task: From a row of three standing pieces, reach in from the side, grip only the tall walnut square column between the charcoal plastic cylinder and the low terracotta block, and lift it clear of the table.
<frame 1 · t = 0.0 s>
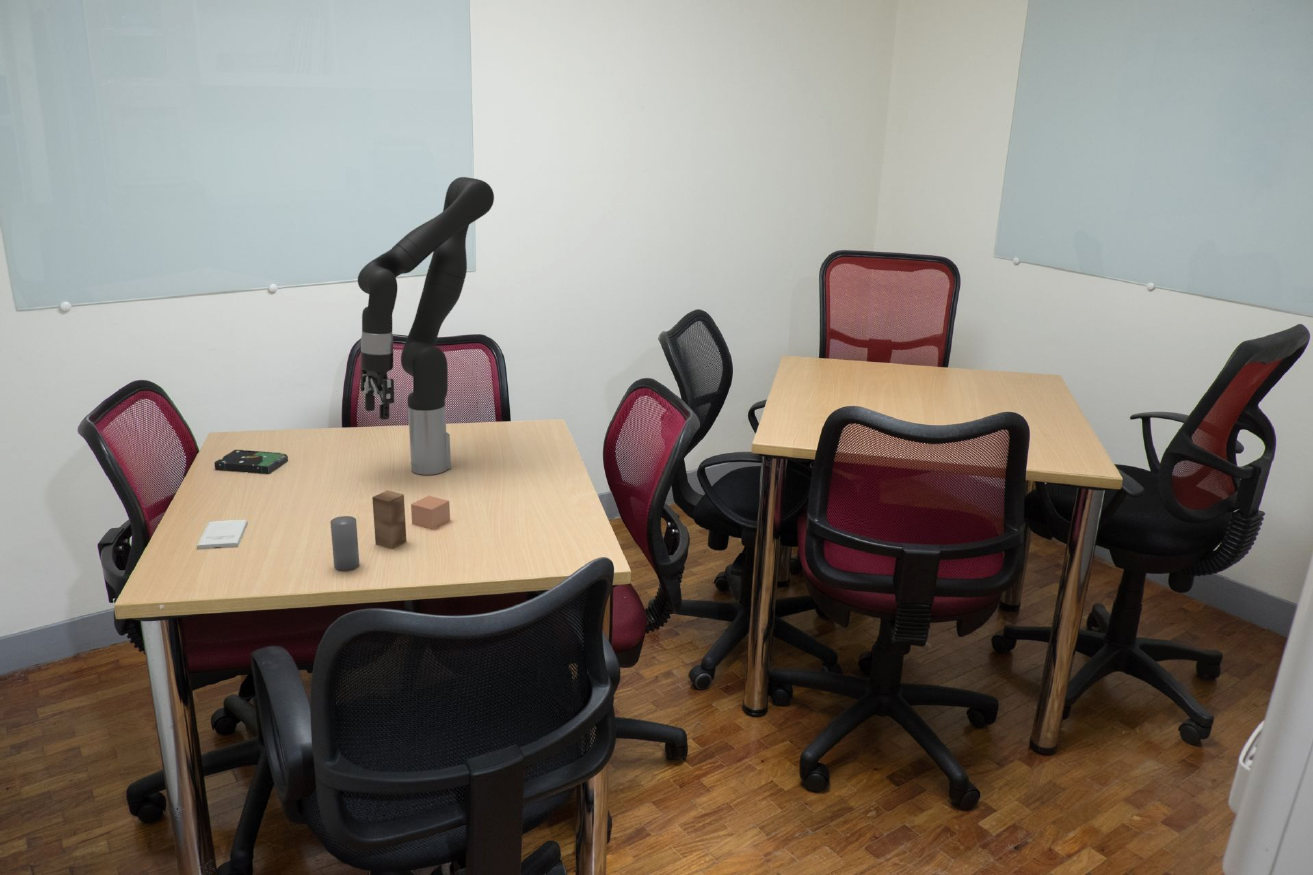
hand: (377, 414, 246), 17 cm above the table, tool pointing down, fingers open, 8 cm apart
terracotta block: (431, 522, 228), on the table
walnut column: (391, 542, 217), on the table
external hard drive: (223, 539, 218), on the table
charcoal cylinder: (346, 565, 206), on the table
disk drive: (252, 468, 259), on the table
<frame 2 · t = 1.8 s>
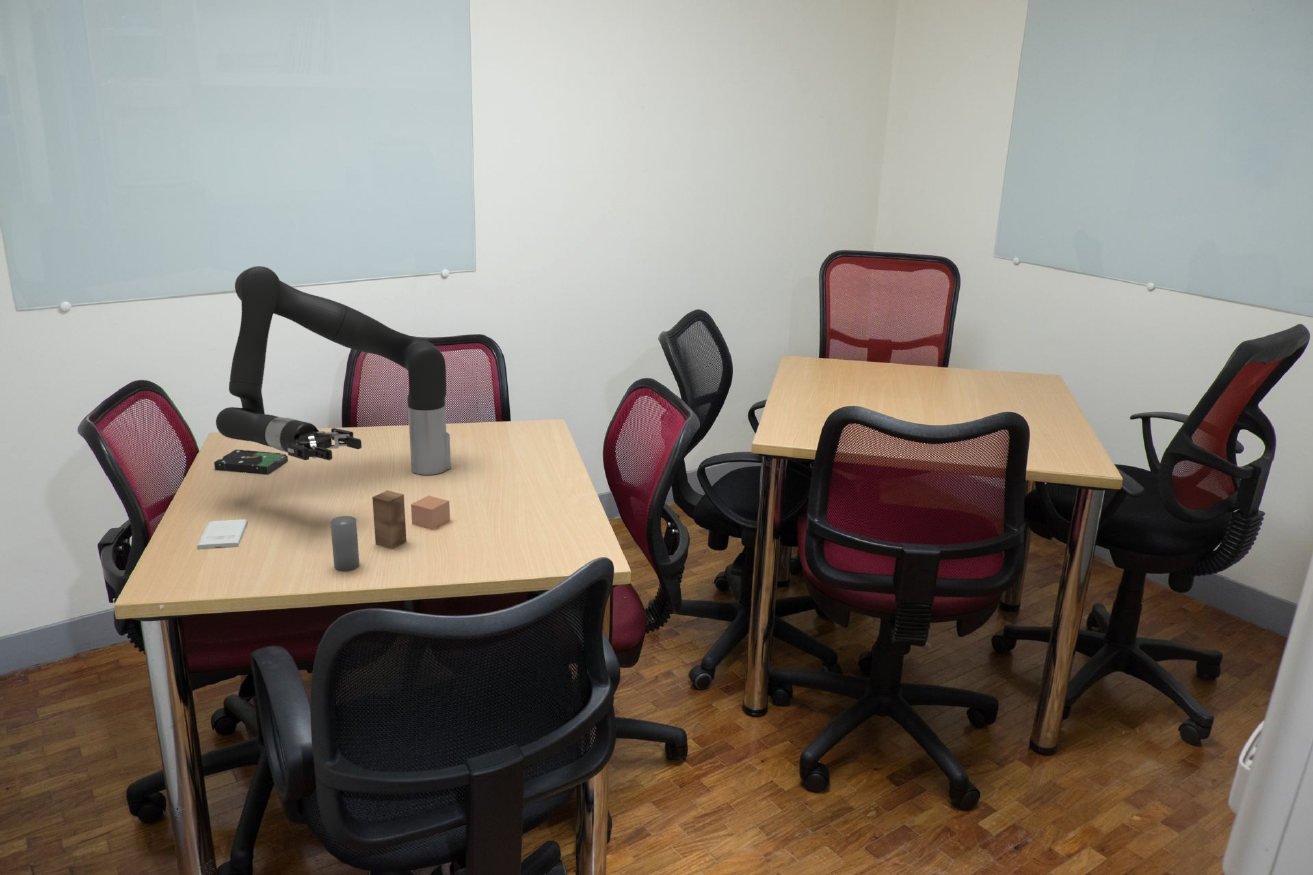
hand: (346, 449, 216), 19 cm above the table, tool horizontal, fingers open, 8 cm apart
nothing on the table moved.
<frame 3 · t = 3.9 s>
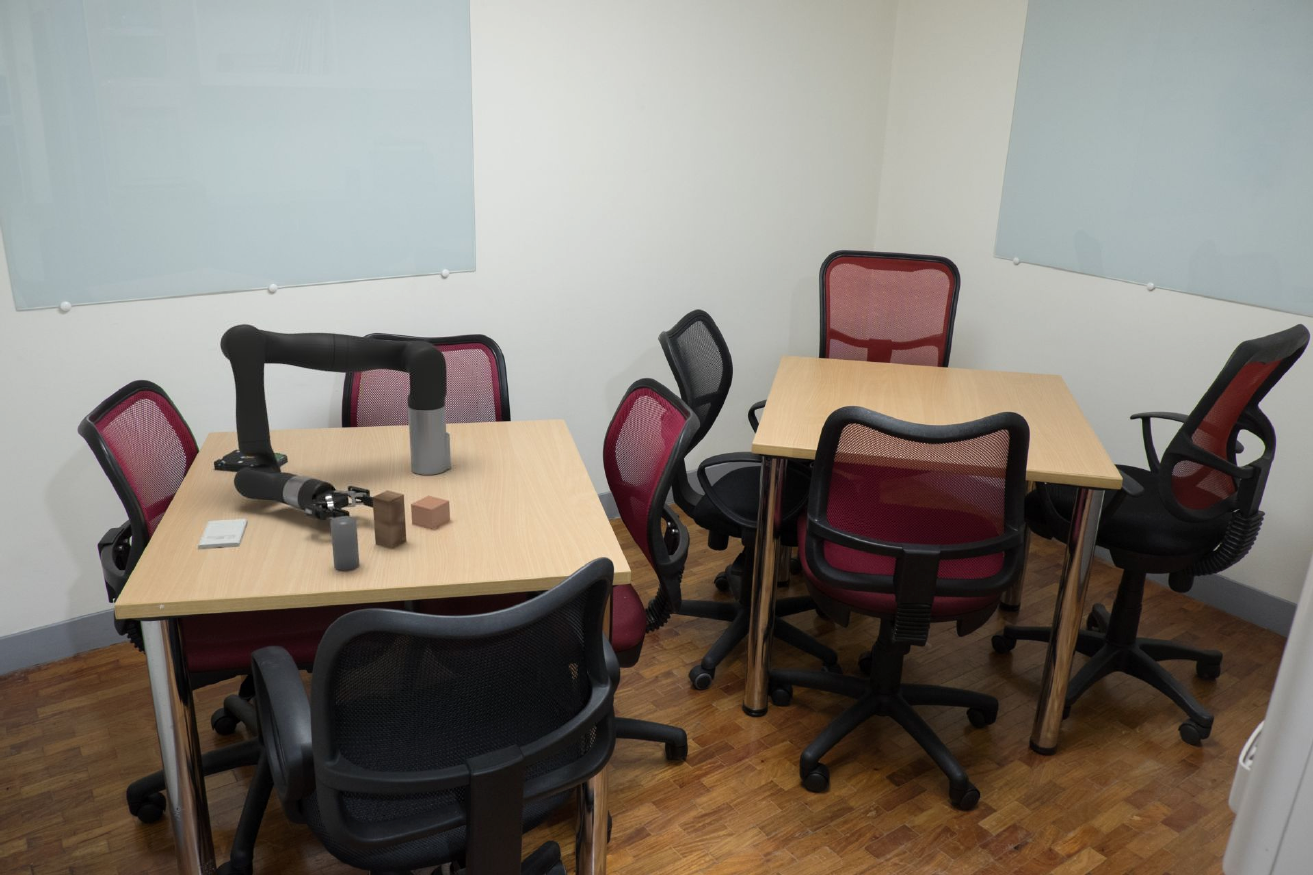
hand: (363, 509, 219), 6 cm above the table, tool horizontal, fingers open, 8 cm apart
nothing on the table moved.
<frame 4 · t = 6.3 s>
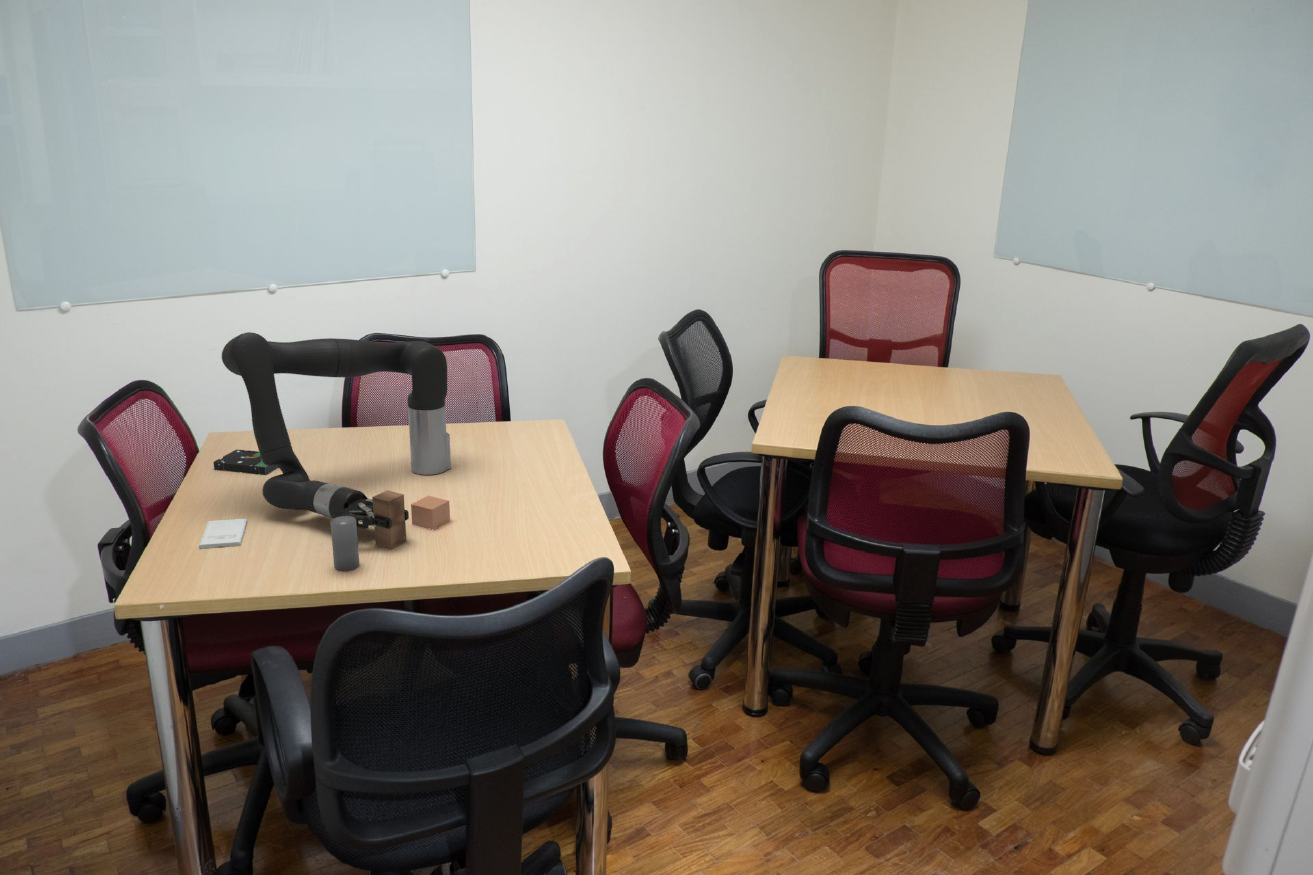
hand: (399, 519, 214), 6 cm above the table, tool horizontal, fingers closed on walnut column, 4 cm apart
walnut column: (391, 542, 217), on the table, touching gripper
everything else where it was.
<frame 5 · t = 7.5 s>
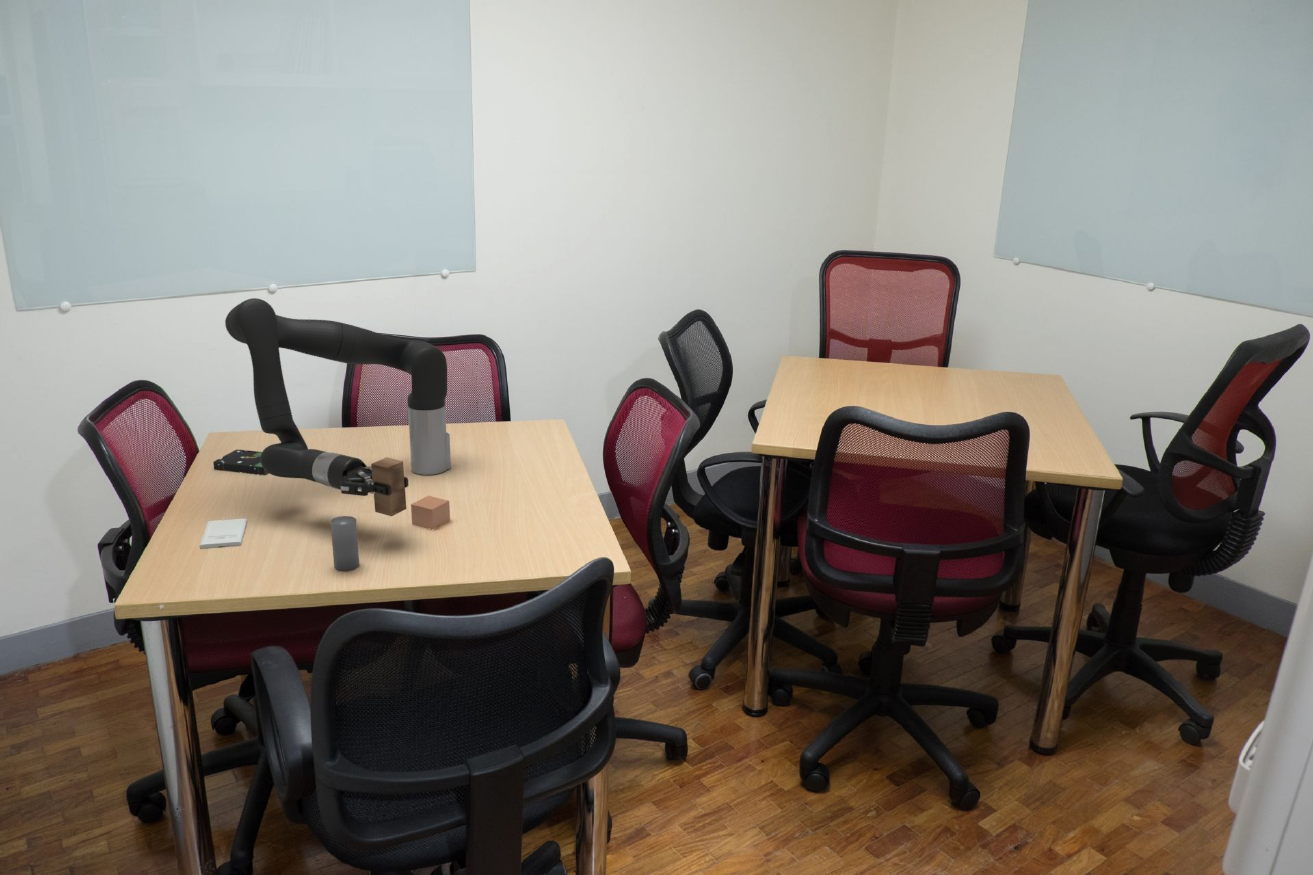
hand: (398, 486, 212), 14 cm above the table, tool horizontal, fingers closed on walnut column, 4 cm apart
walnut column: (390, 510, 215), point 8 cm above the table, touching gripper
everything else where it was.
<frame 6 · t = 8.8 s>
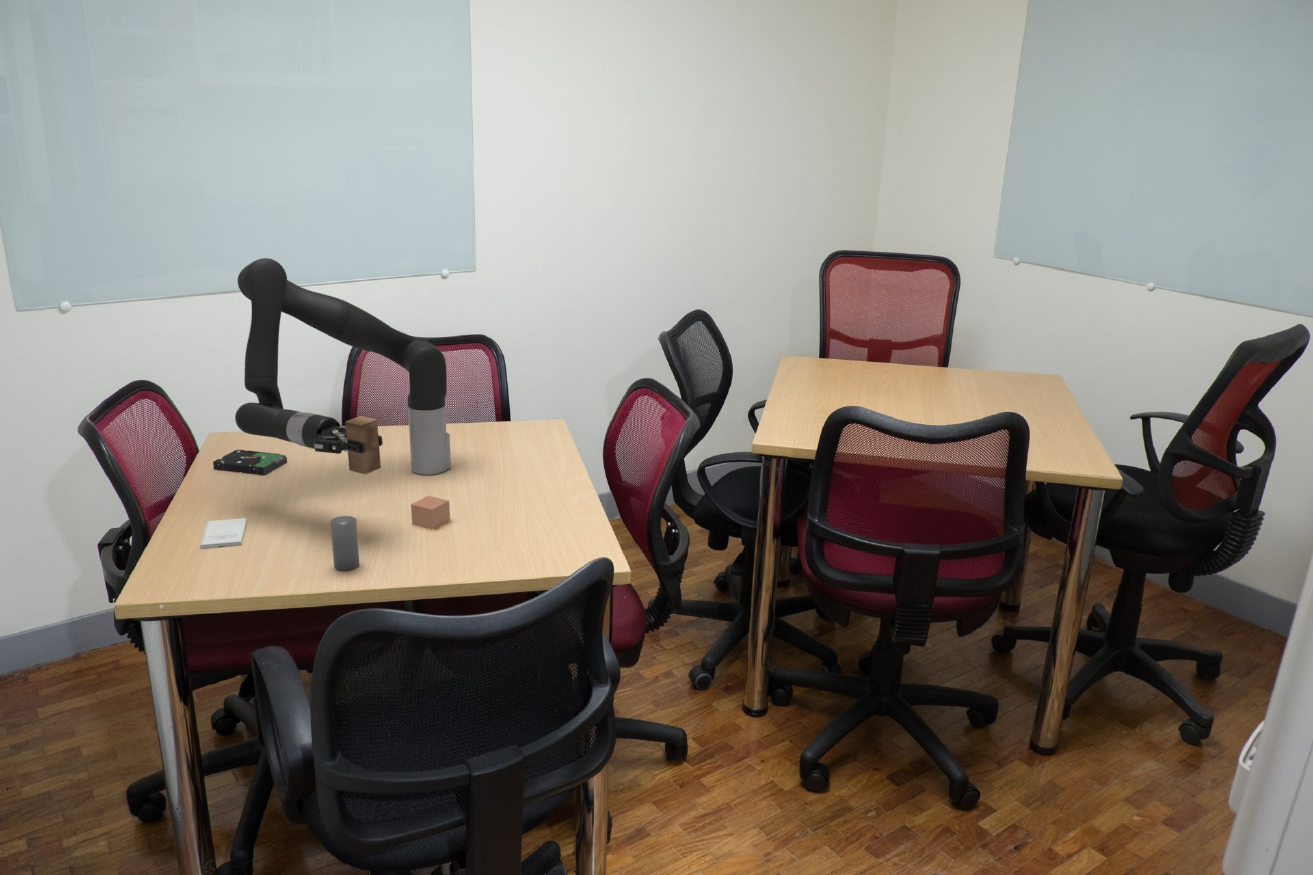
hand: (372, 444, 212), 22 cm above the table, tool horizontal, fingers closed on walnut column, 4 cm apart
walnut column: (365, 469, 215), point 16 cm above the table, touching gripper
everything else where it was.
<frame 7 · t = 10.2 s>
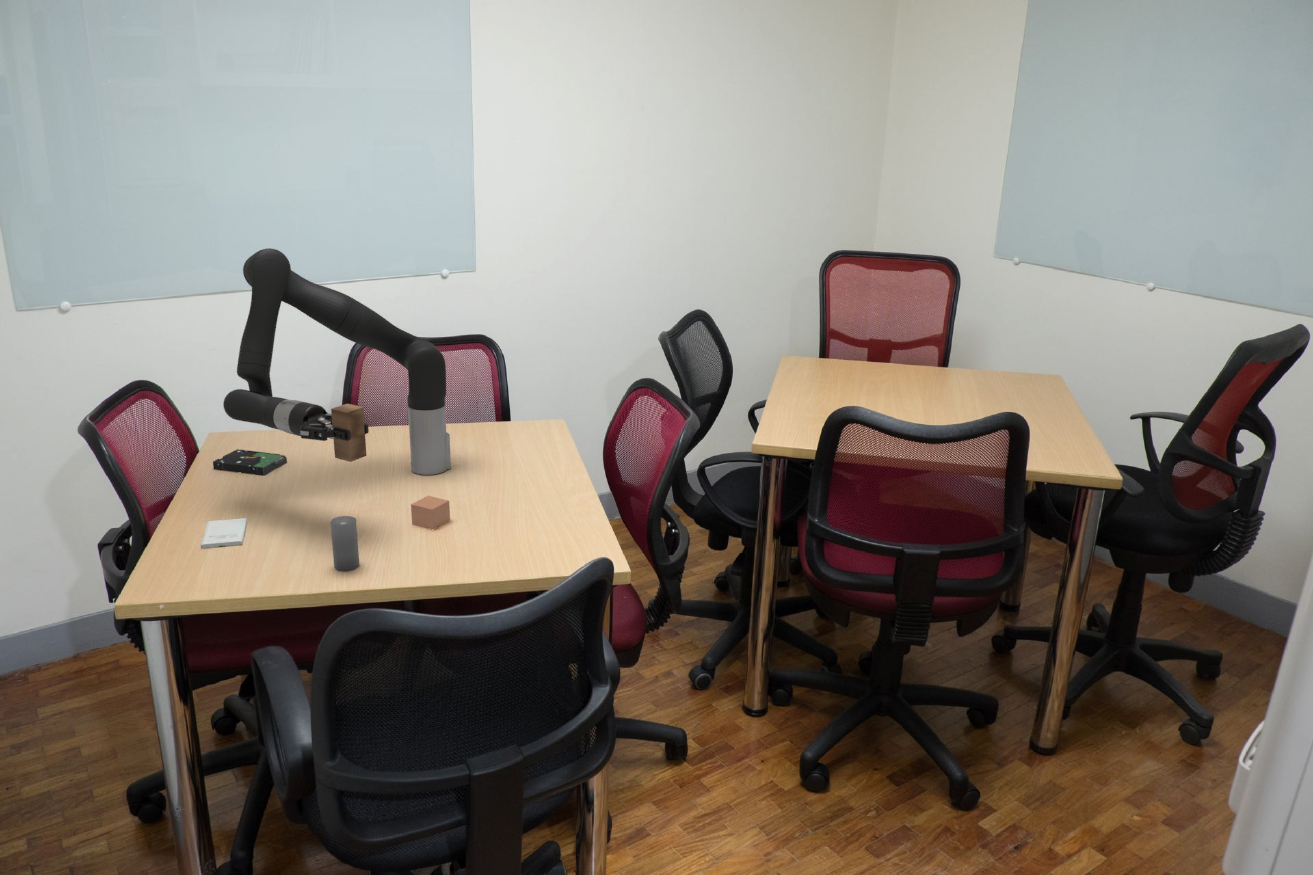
hand: (358, 432, 213), 24 cm above the table, tool horizontal, fingers closed on walnut column, 4 cm apart
walnut column: (350, 456, 216), point 18 cm above the table, touching gripper
everything else where it was.
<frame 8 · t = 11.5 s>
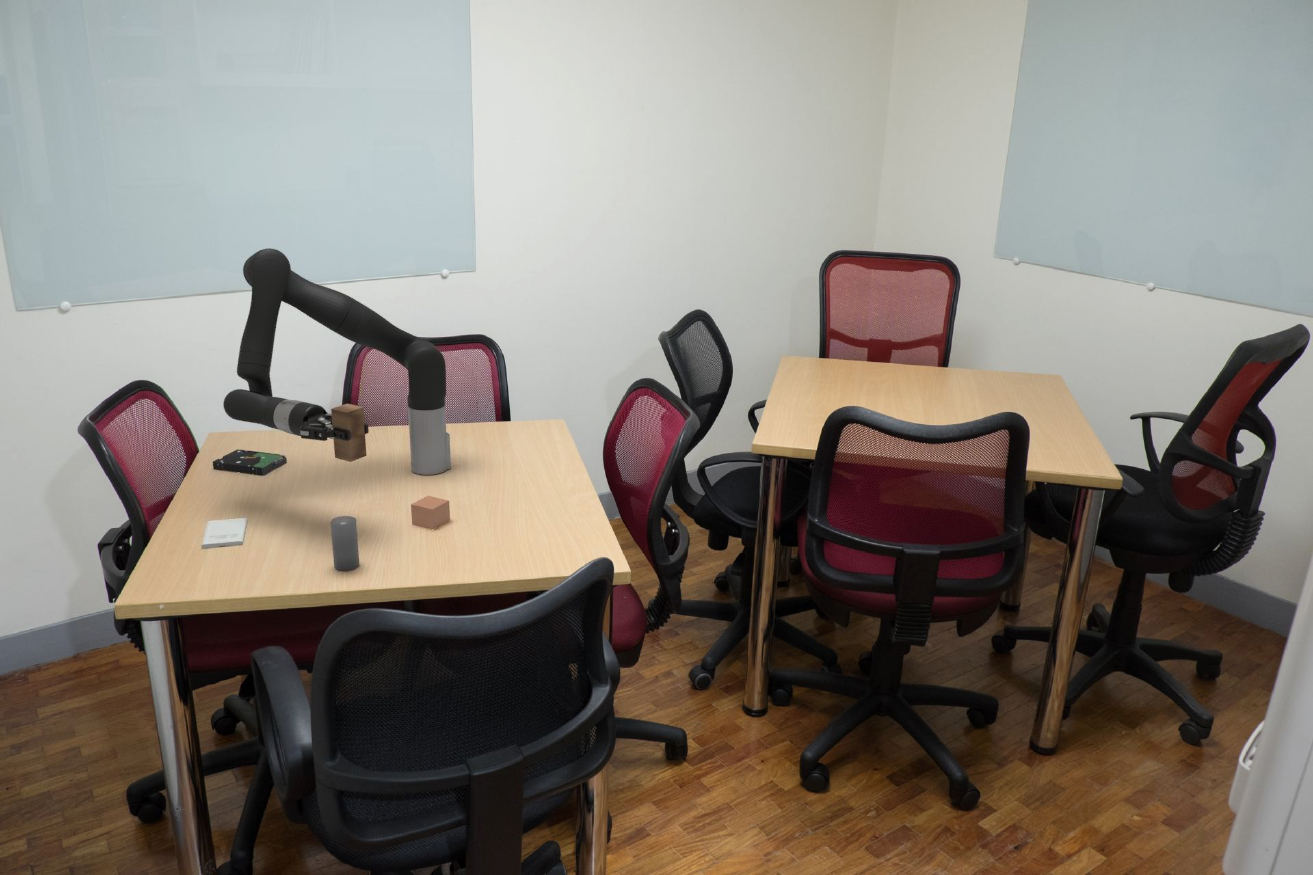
hand: (358, 432, 213), 24 cm above the table, tool horizontal, fingers closed on walnut column, 4 cm apart
walnut column: (350, 456, 216), point 18 cm above the table, touching gripper
everything else where it was.
at the end: walnut column point 17.8 cm above the table; the gripper is holding walnut column; charcoal cylinder moved 0.0 cm from its start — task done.
